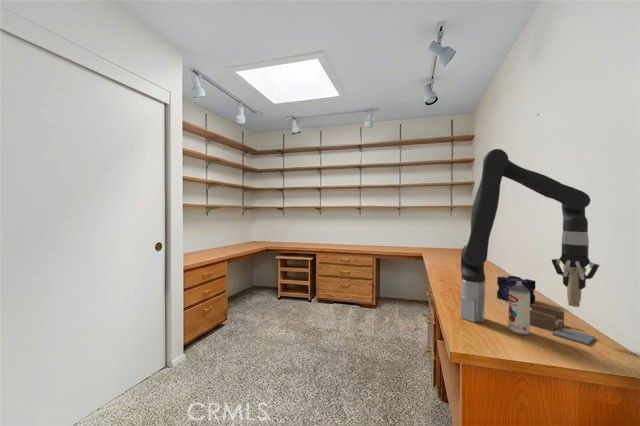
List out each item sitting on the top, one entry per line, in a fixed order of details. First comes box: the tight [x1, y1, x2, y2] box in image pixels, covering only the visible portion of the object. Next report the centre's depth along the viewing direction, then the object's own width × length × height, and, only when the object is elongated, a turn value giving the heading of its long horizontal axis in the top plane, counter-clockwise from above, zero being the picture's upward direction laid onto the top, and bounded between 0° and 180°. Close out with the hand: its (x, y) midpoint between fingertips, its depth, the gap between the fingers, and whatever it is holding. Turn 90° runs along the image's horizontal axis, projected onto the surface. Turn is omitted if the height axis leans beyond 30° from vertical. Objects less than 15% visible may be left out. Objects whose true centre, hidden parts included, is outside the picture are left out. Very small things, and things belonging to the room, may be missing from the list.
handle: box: [562, 265, 587, 308], centre depth 103 cm, size 5×6×15 cm
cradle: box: [530, 303, 565, 333], centre depth 115 cm, size 12×11×6 cm
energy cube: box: [496, 275, 536, 305], centre depth 146 cm, size 12×12×12 cm
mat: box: [552, 326, 596, 346], centre depth 103 cm, size 10×10×1 cm
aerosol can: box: [507, 281, 531, 336], centre depth 107 cm, size 7×7×20 cm
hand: (574, 287), depth 103 cm, fingers closed on handle, 3 cm apart
